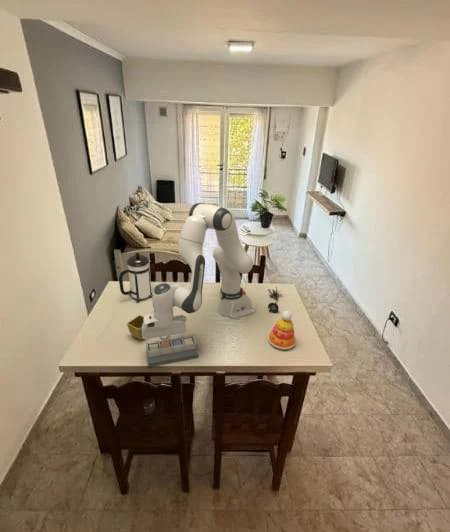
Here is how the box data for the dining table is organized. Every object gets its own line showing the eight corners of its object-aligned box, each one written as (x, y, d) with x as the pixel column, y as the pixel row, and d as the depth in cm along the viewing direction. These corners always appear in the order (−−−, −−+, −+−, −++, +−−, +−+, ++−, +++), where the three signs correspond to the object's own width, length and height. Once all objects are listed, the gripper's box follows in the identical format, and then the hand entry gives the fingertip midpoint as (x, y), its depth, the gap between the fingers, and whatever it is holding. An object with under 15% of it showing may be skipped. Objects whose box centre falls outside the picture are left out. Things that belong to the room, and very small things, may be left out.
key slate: (180, 345, 150) (180, 339, 148) (182, 350, 146) (182, 345, 145) (172, 346, 149) (172, 341, 147) (173, 352, 145) (173, 346, 144)
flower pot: (140, 344, 152) (138, 329, 148) (128, 337, 156) (126, 323, 152) (153, 334, 158) (151, 320, 154) (140, 328, 162) (139, 314, 158)
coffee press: (133, 288, 197) (128, 246, 184) (157, 291, 196) (154, 248, 182) (121, 303, 182) (115, 258, 168) (147, 306, 180) (143, 261, 167)
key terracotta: (169, 347, 148) (169, 341, 147) (170, 352, 145) (170, 347, 143) (161, 348, 147) (160, 343, 145) (162, 354, 144) (161, 348, 142)
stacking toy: (262, 342, 157) (266, 310, 148) (277, 329, 167) (281, 299, 158) (285, 355, 149) (291, 323, 140) (300, 341, 158) (306, 310, 150)
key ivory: (191, 343, 151) (191, 337, 150) (193, 348, 148) (193, 343, 146) (183, 344, 150) (183, 339, 149) (185, 350, 147) (185, 344, 145)
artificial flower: (264, 313, 182) (261, 298, 179) (271, 298, 202) (269, 284, 199) (279, 313, 178) (276, 297, 176) (285, 298, 198) (282, 283, 196)
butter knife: (94, 339, 153) (99, 340, 153) (115, 312, 174) (120, 312, 174) (94, 340, 153) (99, 341, 153) (115, 312, 174) (120, 313, 174)
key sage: (158, 349, 147) (157, 343, 145) (159, 355, 143) (158, 349, 142) (149, 350, 145) (149, 345, 144) (150, 356, 142) (149, 350, 140)
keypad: (192, 338, 157) (191, 330, 154) (198, 357, 145) (198, 348, 142) (146, 346, 150) (145, 337, 147) (148, 367, 138) (147, 358, 136)
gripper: (185, 310, 143) (185, 334, 149) (140, 317, 137) (142, 341, 143) (187, 318, 137) (187, 342, 144) (141, 325, 132) (143, 350, 138)
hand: (164, 341), depth 143 cm, fingers closed
